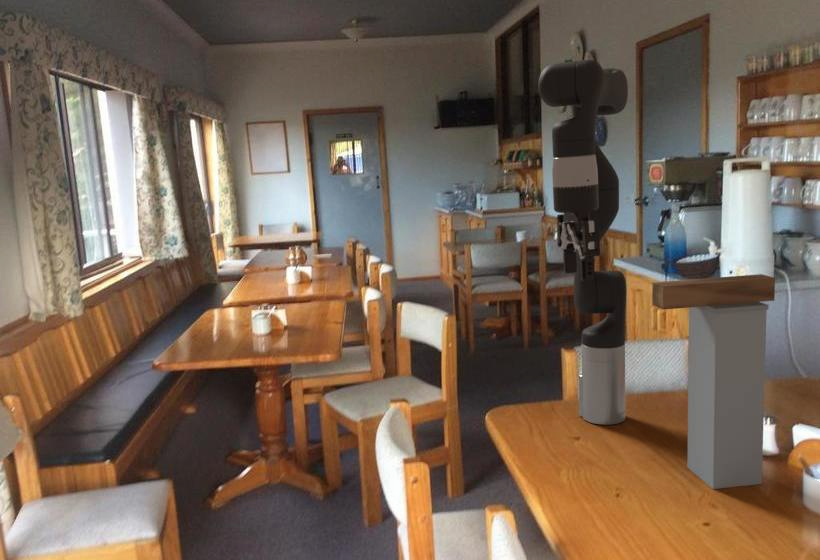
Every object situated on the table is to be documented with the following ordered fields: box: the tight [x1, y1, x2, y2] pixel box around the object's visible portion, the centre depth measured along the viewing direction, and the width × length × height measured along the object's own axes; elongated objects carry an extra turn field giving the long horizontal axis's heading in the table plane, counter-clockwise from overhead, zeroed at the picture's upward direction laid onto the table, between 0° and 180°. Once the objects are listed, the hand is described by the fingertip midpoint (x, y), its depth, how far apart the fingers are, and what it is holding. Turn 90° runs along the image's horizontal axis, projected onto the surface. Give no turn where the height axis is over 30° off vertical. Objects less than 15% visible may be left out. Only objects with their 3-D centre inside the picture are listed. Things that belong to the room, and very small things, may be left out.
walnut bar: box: [651, 273, 776, 311], centre depth 123 cm, size 4×20×4 cm, turn 96°
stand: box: [686, 302, 769, 490], centre depth 127 cm, size 9×9×32 cm
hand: (578, 276), depth 125 cm, fingers open, 8 cm apart
